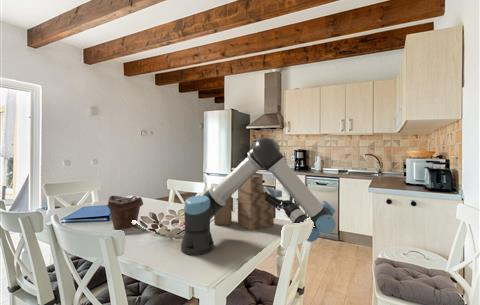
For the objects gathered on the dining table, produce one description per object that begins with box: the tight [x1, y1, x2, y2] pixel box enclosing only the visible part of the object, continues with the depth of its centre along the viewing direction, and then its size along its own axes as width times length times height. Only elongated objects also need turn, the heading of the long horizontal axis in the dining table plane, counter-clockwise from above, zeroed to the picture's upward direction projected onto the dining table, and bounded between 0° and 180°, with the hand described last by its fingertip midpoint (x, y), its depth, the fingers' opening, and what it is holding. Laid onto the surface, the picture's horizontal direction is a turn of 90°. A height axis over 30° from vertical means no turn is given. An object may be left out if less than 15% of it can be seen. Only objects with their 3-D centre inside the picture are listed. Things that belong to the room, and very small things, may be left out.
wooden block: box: [213, 194, 233, 226], centre depth 153 cm, size 10×10×20 cm
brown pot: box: [107, 195, 144, 229], centre depth 149 cm, size 18×20×18 cm
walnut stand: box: [237, 172, 275, 231], centre depth 151 cm, size 16×16×32 cm
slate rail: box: [263, 185, 283, 199], centre depth 147 cm, size 4×26×4 cm, turn 27°
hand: (273, 187), depth 141 cm, fingers open, 13 cm apart
